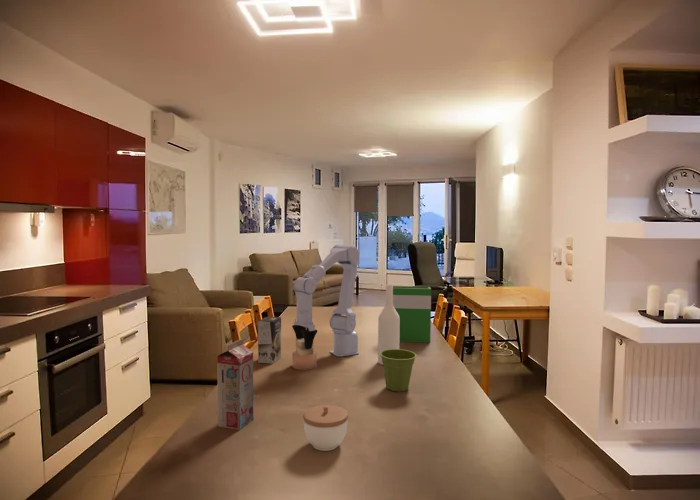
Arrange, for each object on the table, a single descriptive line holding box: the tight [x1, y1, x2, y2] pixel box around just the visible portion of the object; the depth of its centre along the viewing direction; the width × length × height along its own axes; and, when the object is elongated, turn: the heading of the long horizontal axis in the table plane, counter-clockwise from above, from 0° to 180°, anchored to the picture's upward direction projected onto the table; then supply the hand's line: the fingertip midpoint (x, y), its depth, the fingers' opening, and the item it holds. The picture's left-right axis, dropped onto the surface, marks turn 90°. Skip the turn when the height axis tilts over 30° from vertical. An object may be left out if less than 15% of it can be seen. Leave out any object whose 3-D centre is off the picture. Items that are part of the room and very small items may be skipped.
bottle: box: [377, 283, 400, 366], centre depth 176 cm, size 8×8×30 cm
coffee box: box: [257, 316, 282, 365], centre depth 180 cm, size 9×6×16 cm
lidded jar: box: [302, 404, 349, 452], centre depth 112 cm, size 11×11×9 cm
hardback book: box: [393, 285, 432, 343], centre depth 212 cm, size 18×7×24 cm, turn 85°
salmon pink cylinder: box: [291, 350, 318, 371], centre depth 173 cm, size 9×9×5 cm
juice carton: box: [216, 338, 255, 431], centre depth 123 cm, size 7×7×22 cm
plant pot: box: [380, 348, 418, 392], centre depth 150 cm, size 12×12×11 cm
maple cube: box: [295, 338, 314, 356], centre depth 173 cm, size 5×5×5 cm
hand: (304, 346), depth 173 cm, fingers open, 7 cm apart
